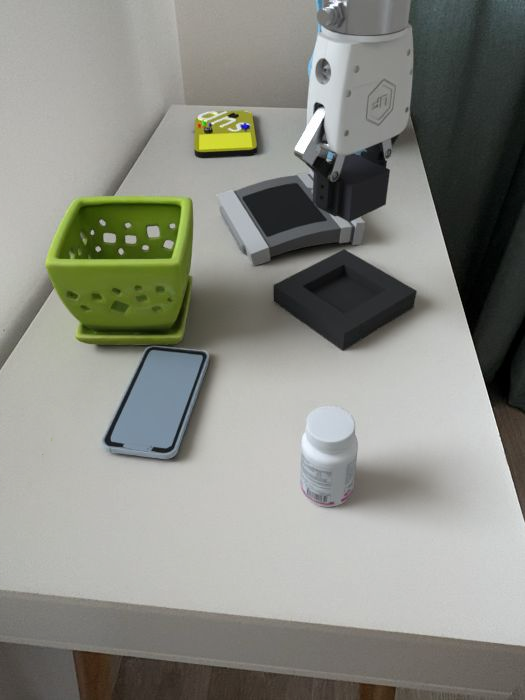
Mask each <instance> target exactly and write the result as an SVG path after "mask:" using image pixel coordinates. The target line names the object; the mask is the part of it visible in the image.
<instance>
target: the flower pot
mask: <svg viewBox="0 0 525 700" xmlns="http://www.w3.org/2000/svg"><path fill="white" fill-rule="evenodd" d="M101 220H102V221H103V222H104V223H105V224H104V225H103V224H102V223H101V222H100V221H101ZM126 224H130V226H129V227H127V225H126ZM171 224H174V225H175V226H174V227H171ZM149 227H157V228H158V231H159V236H153V237H152V236H151V237H150V236H149V233H148V228H149ZM56 229H57V230H56V232H55V234H54V236H53V238H52V241H51V243H50V246H49V249H48V251H47V255H46V259H45V264H44V266H45V268H46V272H47V274H48V277H49V279H50V282H51V283H52V286H53V288H54V290H55V292H56V295H57V296H58V298H59V299H60V301H61V302H62V304H63V305H64V307H65V308H66V309H67V310H68V312H69V313H70V315H72V316H73V317H74V318H75V319H76V320H77V321H78V326H77V329H76V331H75V339H76V340H77V341H79V342H81V343H83V344H86V345H96V346H97V345H98V346H173V345H176V344H178V343H180V342H181V341H182V340H183V338H184V334H185V331H186V330H185V329H186V325H187V318H188V313H189V308H190V301H191V295H192V288H193V276H192V275H190V273H191V265H192V255H193V242H194V203H193V200H192V198H190V197H188V196H177V195H174V196H173V195H97V196H80V197H76V198H74V199H73V200H72V201H71V203H70V205H69V206H68V208H67V210H66V212H65V213H64V215H63V217H62V219H61V220H60V223H59V225H58V227H57V228H56ZM91 231H92V232H93V234H92V232H91ZM104 234H113V235H115V242H107V241H104ZM127 236H132V237H135V240H136V241H135V242H134V243H129V242H128V243H127V242H126V237H127ZM166 241H171V242H172V247H171V248H168V247H166V246H164V245H165V244H166ZM144 246H147V247H148V248H147V249H143V247H144ZM97 247H99V248H100V250H99V251H97V249H96V248H97ZM119 250H122V251H123V252H122V254H121V253H120V252H119Z"/></svg>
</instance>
